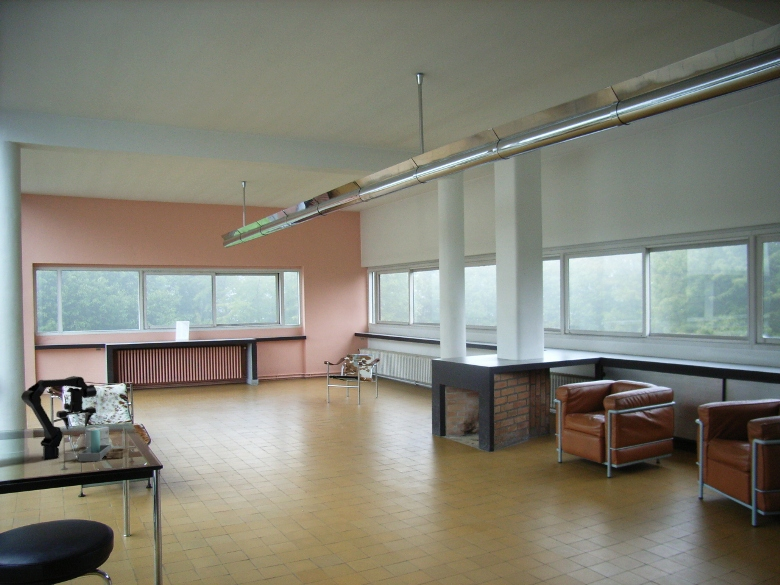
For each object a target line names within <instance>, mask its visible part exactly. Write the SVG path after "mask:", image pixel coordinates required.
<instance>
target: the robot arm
mask: <svg viewBox="0 0 780 585" xmlns="http://www.w3.org/2000/svg"><path fill="white" fill-rule="evenodd" d="M58 387H59V388H60V387H69V388H68V389H66V393H70V401H69V403H67V402H65V403H64V404H63V410H57V411H56V417H57V418H59V419H61V420H62V421H63V423H64V426H65V428H66V430H69V417H68V416H70V415H71V416H72V415H79V414H84V416H85V418H84V428H86V427H88V423H89V422H90V419H91V417H92V416H94V414H97V409H96V408H95V407H93V406H89V407H86V408H84V409H83V404H84V401H83V399H89V398H94V397H96V396H97V393H98V390H97V389H96V387H95V384H89V385H88V384H87V383H86V381H85V379H84V377H81V376H76V375H72V376H69V377H66V378H59V379H39V380H38V381H37V382H36V383H35V384H33V385H31V386H30V387H29V388H28V389H27V390H24V391H23V392H22V394H21V400H22V401H23V402H24V404H26V405H27V406H28V407H29V408H31V409H32V412H33V414H34V415H35V417H36V418H37V421H38V422H39V424H40V426H41V427H42V429H43V435H44V438H43V439H42V440H41V441H40V446H41V447H42V457H41V458H42V459H43V460H44V461H48V459H49V460H55V459H58V458H59V456H60V450H59V449H60V448H59V447H60V445H61V442H62V441H63V437H64V435H63V434H64V432H63V431H62V430H61V427H60V426H55V425H54V424H53V423H52V421H51V419H50V418H49V416H48V414H47V412H46V410H45V409H44V407H43V405H42V398H41V396H42V395H43V394H44V393H45V391H46V389H47V388H58ZM66 410H67V411H66Z"/></svg>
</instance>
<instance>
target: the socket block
mask: <svg viewBox="0 0 780 585" xmlns="http://www.w3.org/2000/svg"><path fill="white" fill-rule="evenodd" d="M128 452H129V451H128V448H127V447H124V448H123V447H121V448H111V450H109V451H108V452H107V456H106V458H107V457H113V458H112V459H123V458H124V457H126V456H127V455H128Z"/></svg>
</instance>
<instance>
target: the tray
mask: <svg viewBox="0 0 780 585" xmlns="http://www.w3.org/2000/svg"><path fill="white" fill-rule="evenodd" d="M111 449H112V444H109V445H100V452H99V453H91V446H89V447H88V448H86V447H85V448H84V450H82V451H80V452H79V453H78V462H79V461H80V462H100V461H102V460H103V459H104V458H105V457H104V456H106V455H107V452H108V451H109V450H111ZM103 457H104V458H103ZM106 457H107V456H106ZM102 458H103V459H102Z"/></svg>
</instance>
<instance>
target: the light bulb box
mask: <svg viewBox="0 0 780 585" xmlns="http://www.w3.org/2000/svg"><path fill="white" fill-rule="evenodd" d="M92 430H100V445H106V444H109V445H110V434H109V433H110V427H109V426H105V425H99V426H95V427H90V428H89V427H88V428H85V429H84V434H85V435H84V438H85V439H84V440H85V442H84V443H85V444H84V445H85V448H86V447H89V446H91V431H92Z"/></svg>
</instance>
